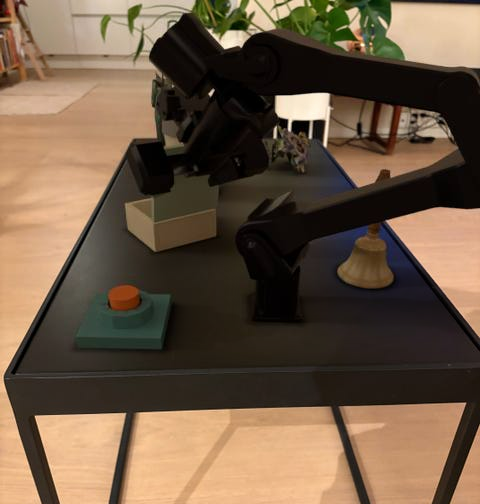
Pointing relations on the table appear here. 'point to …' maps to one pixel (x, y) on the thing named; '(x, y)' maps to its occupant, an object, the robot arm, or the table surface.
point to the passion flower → (290, 149)
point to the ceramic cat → (157, 86)
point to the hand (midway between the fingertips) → (181, 189)
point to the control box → (125, 323)
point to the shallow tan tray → (168, 226)
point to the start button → (124, 298)
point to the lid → (184, 194)
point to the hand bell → (368, 257)
